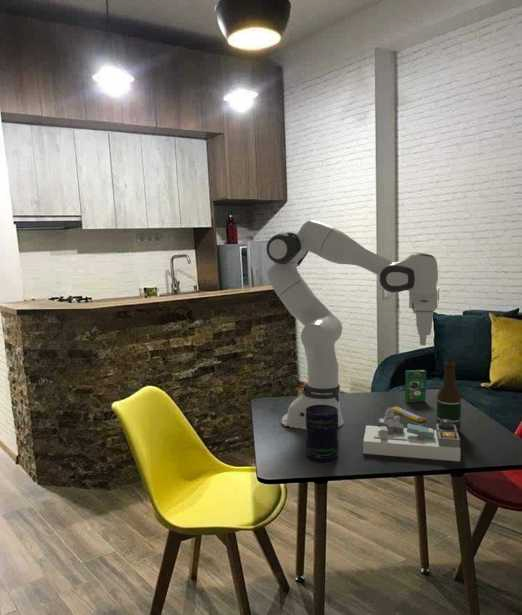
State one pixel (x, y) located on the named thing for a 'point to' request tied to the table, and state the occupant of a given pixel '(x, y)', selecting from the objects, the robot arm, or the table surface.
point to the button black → (446, 424)
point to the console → (412, 444)
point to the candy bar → (408, 414)
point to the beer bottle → (449, 398)
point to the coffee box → (415, 386)
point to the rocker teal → (414, 430)
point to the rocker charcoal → (396, 426)
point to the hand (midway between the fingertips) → (422, 344)
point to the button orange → (448, 435)
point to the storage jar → (322, 433)
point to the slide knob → (383, 432)
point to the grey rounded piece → (391, 416)
